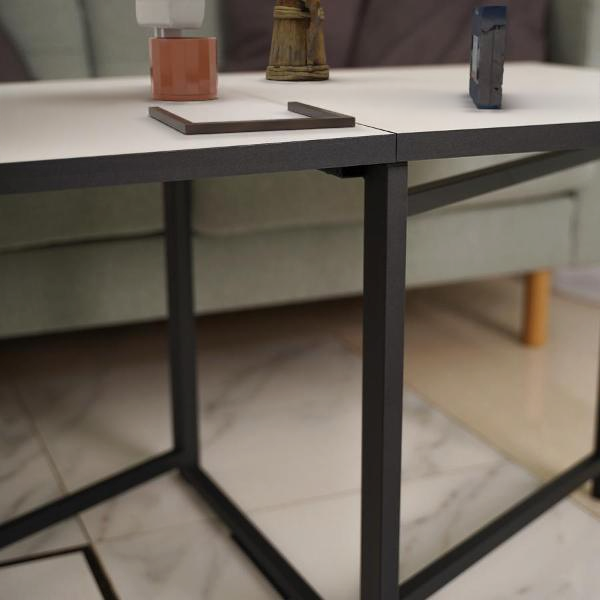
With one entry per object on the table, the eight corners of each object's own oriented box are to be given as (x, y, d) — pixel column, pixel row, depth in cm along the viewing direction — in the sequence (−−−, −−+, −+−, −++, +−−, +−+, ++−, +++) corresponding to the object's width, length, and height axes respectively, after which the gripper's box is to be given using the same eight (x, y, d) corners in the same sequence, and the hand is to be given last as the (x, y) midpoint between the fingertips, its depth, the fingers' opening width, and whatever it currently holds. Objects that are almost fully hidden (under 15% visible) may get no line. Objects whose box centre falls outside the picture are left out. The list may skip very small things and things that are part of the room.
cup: (160, 101, 98) (157, 39, 96) (146, 95, 105) (143, 37, 103) (225, 99, 101) (224, 38, 99) (208, 93, 108) (206, 36, 106)
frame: (185, 134, 73) (185, 124, 73) (148, 115, 86) (148, 106, 86) (355, 126, 78) (355, 117, 78) (296, 109, 91) (296, 101, 91)
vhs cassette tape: (467, 92, 110) (472, 5, 107) (492, 93, 109) (498, 5, 106) (472, 108, 92) (477, 5, 89) (501, 109, 92) (508, 5, 89)
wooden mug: (291, 84, 121) (291, -62, 115) (257, 77, 133) (255, -55, 127) (352, 82, 124) (355, -60, 118) (313, 75, 136) (314, -54, 130)
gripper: (120, -52, 113) (126, 63, 117) (155, -63, 94) (161, 74, 99) (170, -51, 115) (174, 62, 119) (214, -62, 96) (217, 72, 101)
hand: (169, 68), depth 109 cm, fingers closed
